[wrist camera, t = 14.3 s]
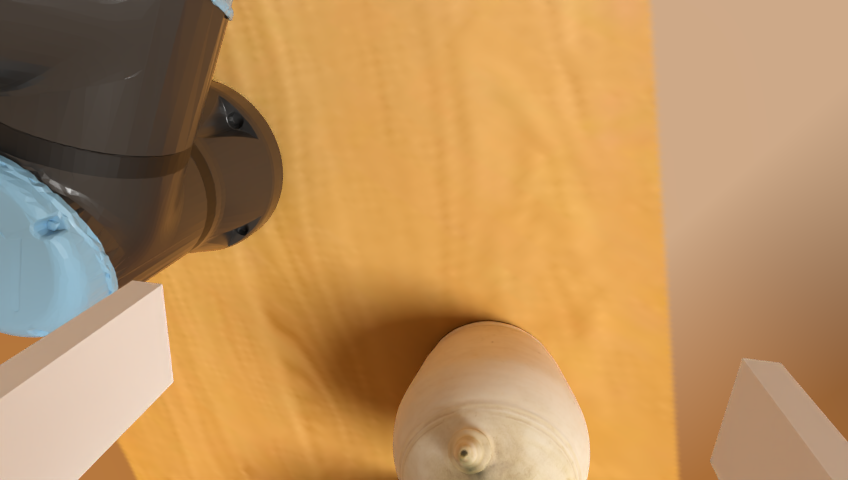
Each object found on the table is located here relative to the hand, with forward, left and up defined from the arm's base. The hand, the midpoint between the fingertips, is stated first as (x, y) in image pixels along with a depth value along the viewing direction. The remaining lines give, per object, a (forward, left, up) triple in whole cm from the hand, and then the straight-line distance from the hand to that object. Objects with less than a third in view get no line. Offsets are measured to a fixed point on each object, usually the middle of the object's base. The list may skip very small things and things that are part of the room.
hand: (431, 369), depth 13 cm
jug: (+3, -23, -35) cm, 42 cm away
